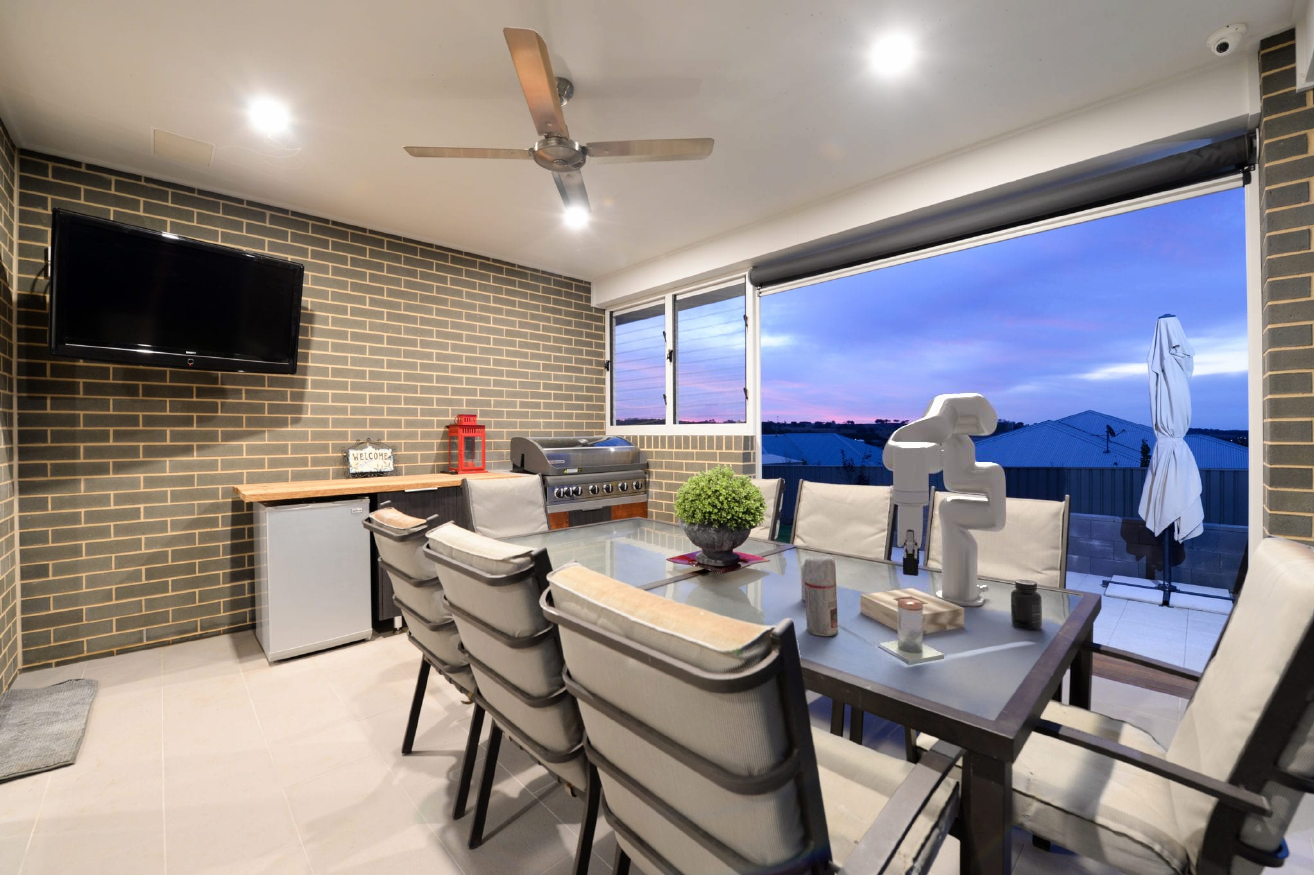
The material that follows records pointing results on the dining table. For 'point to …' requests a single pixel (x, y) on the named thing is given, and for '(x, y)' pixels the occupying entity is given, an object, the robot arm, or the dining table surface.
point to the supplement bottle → (1026, 606)
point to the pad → (913, 658)
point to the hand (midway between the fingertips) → (911, 569)
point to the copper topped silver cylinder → (910, 625)
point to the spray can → (821, 596)
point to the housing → (934, 609)
